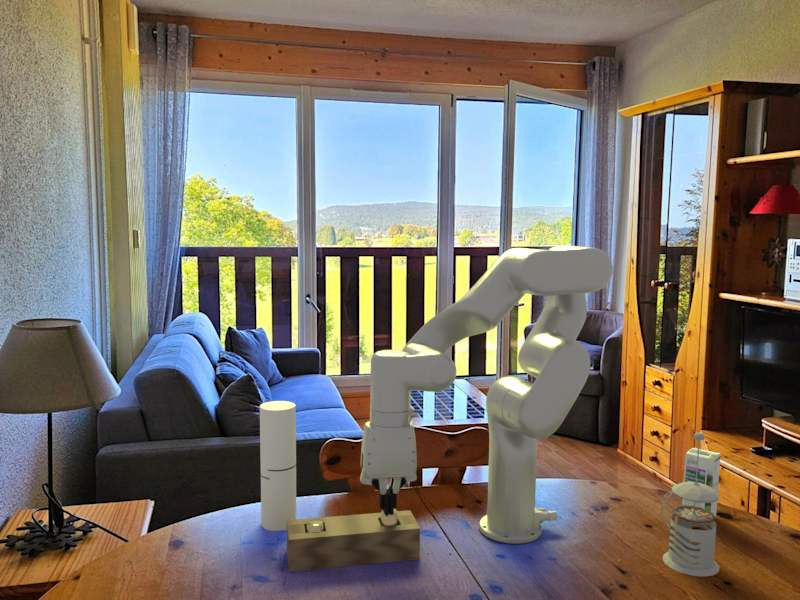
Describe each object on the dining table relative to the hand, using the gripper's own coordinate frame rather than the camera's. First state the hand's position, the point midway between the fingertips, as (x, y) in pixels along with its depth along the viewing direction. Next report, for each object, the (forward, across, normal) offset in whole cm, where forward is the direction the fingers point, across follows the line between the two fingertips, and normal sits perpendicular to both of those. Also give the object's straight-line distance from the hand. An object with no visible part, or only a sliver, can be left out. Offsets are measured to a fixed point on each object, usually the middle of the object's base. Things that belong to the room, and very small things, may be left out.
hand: (387, 511), depth 129 cm
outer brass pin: (+7, +14, 0) cm, 15 cm away
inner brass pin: (+6, 0, 0) cm, 6 cm away
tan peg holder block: (+8, +7, 0) cm, 10 cm away
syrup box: (+7, -68, -2) cm, 69 cm away
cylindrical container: (+8, +20, -16) cm, 27 cm away
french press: (+8, -54, +14) cm, 57 cm away
